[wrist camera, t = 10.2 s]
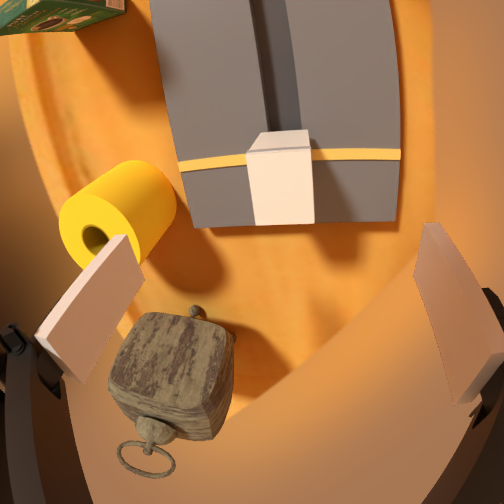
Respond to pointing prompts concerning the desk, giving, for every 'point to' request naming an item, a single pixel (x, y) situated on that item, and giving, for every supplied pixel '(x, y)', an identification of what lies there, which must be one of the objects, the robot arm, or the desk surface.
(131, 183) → the yellow toilet paper roll
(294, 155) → the fader knob
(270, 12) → the fader console
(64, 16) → the coffee box
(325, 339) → the desk surface
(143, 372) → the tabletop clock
